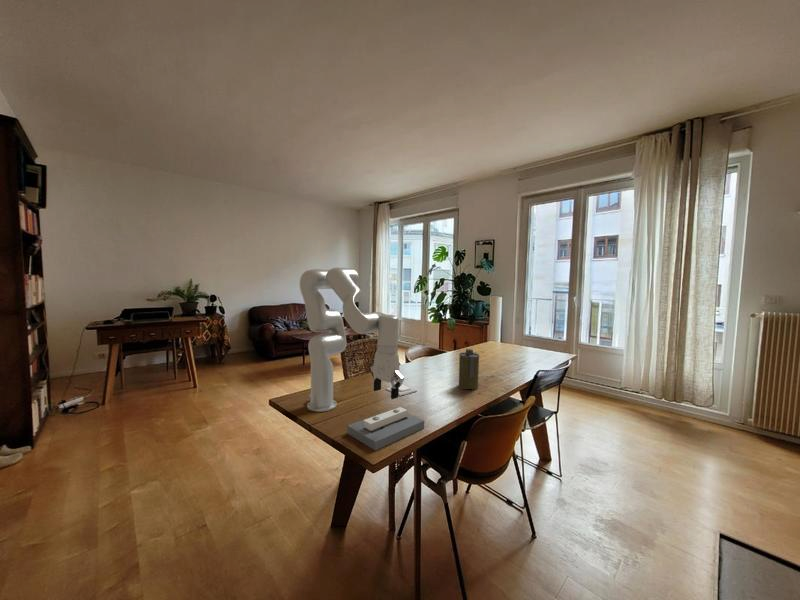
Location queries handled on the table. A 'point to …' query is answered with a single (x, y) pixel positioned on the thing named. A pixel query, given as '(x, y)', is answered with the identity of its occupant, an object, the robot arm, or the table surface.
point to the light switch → (404, 390)
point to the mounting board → (385, 431)
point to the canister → (468, 370)
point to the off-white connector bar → (385, 419)
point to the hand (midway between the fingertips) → (385, 394)
